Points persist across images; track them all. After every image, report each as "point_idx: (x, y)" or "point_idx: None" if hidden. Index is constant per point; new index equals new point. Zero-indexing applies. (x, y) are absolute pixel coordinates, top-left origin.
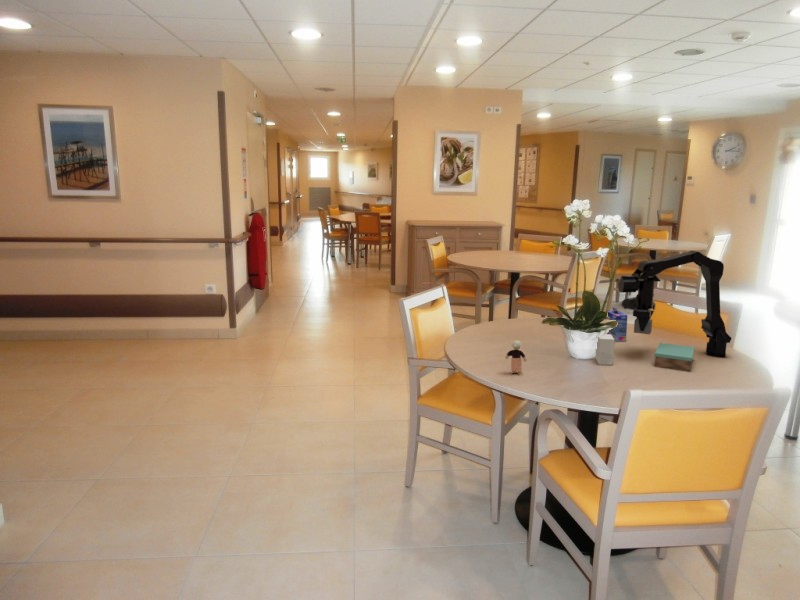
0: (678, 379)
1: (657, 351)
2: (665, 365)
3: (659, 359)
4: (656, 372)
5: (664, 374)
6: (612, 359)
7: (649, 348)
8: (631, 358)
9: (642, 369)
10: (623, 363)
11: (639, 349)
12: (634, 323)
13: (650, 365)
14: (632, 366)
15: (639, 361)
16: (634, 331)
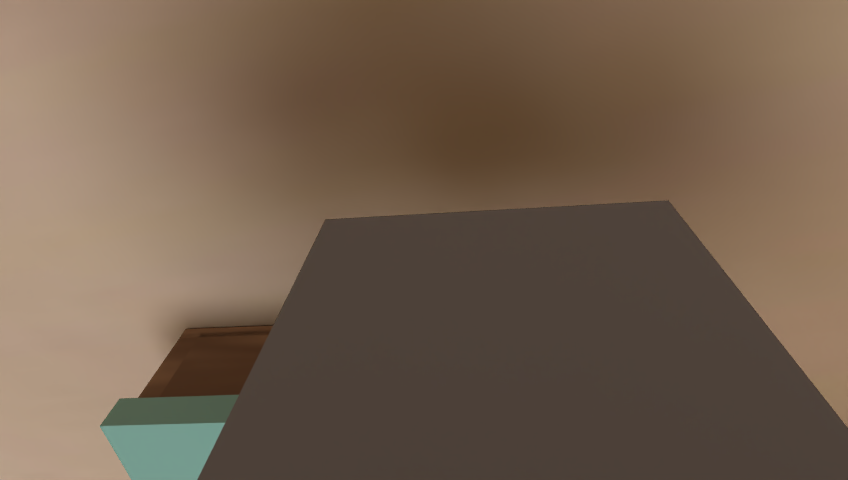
0: (35, 468)
1: (183, 435)
2: None
3: None
4: (41, 358)
5: (50, 402)
6: None
7: (827, 191)
8: (264, 100)
9: (9, 265)
10: (8, 68)
11: (733, 95)
12: (224, 424)
13: (178, 298)
14: (4, 174)
15: (220, 197)
16: (321, 251)
